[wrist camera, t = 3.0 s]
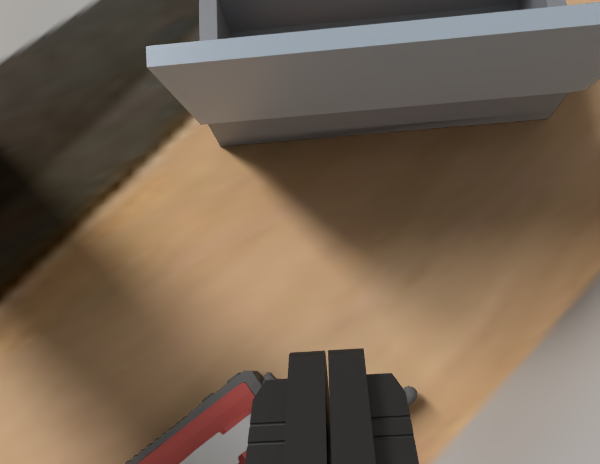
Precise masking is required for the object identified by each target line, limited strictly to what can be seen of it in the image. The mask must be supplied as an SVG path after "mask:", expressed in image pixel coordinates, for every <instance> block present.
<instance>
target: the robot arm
mask: <svg viewBox="0 0 600 464" xmlns="http://www.w3.org/2000/svg"><path fill="white" fill-rule="evenodd" d="M328 361H329V386H328V376H327V365H326V355H325V351H312V352H294V353H290V354H289V368H288V379H278V380H265V381H264V383H263V385H262V386H261V388H260V389H259V391H258V393H257V394H256V396H255V397H254V399H253V401H252V410H251V418H250V428H249V434H248V447H247V451H246V459H245V464H419V462H418V456H417V451H416V445H415V440H414V436H413V429H412V424H411V420H410V413H409V407H408V402H407V396H406V392H405V391H404V389H403V388H402V387H401V385H400V384H399V382H398V381H397V380H396V378H395V377H394V376H393V374H392V373H387V374H368V375H366V367H365V358H364V350H363V348H362V349H344V350H328ZM329 394H330V397H329Z"/></svg>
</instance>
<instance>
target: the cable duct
mask: <svg viewBox="0 0 600 464" xmlns="http://www.w3.org/2000/svg"><path fill="white" fill-rule="evenodd" d="M556 6H566V0H199V26H200V41H206V40H216V39H226V38H236V37H247V36H257V35H267V34H278V33H288V32H298V31H309V30H319V29H329V28H339V27H350V26H360V25H370V24H381V23H391V22H401V21H411V20H422V19H432V18H442V17H453V16H463V15H473V14H484V13H494V12H504V11H514V10H525V9H535V8H545V7H556ZM568 93H569V92H568ZM568 93H556V94H545V95H533V96H522V97H511V98H499V99H488V100H476V101H465V102H454V103H442V104H431V105H419V106H408V107H397V108H385V109H374V110H362V111H351V112H340V113H328V114H317V115H306V116H294V117H283V118H271V119H260V120H249V121H237V122H226V123H214V124H208V125H209V127H210V128H211V130H212V132H213V134H214V136H215V137H216V139H217V141H218V143H219V145H220V147H222V146H234V145H245V144H257V143H269V142H281V141H292V140H304V139H316V138H328V137H339V136H351V135H363V134H375V133H386V132H398V131H410V130H422V129H433V128H445V127H457V126H468V125H480V124H492V123H504V122H515V121H527V120H539V119H548V118H549V117H550V116H551V115H552V113H553V112H554V111H555V109H556V108H557V107H558V106H559V104H560V103H561V102H562V100H563V99H564V98H565V97H566V95H567V94H568Z"/></svg>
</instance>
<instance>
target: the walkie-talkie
mask: <svg viewBox="0 0 600 464" xmlns="http://www.w3.org/2000/svg"><path fill="white" fill-rule="evenodd" d="M263 379H264V380H263ZM265 380H277V379H276V378H275V377H274V376H273V374H272V373H270V372H267V373H266V374H265V375H264V378H262V377H261V376H260V374H259V373H258V371H243V372H242V373H238V374H236V375H235V376H234V377H232V378H231V379H230V380H229V381H228V382H227V384H226V385H225V386H224V387H223V388H221V389H220V390H219V391H217V392H215V393H212V394H210V395H209V396H208V397H207V398H205V399H204V400H203V401H202V402H203V403H202V404H201V405H199V406H198V407H197V408H195V409H194V410H193V411H192V412H190V413H189V416H188V417H184V418H183V419H182V421H181V422H178V423H176V424H175V427H173V428H170V429H168V432H167V433H164V434H162V435H161V437H160V438H158V439H156V440H154V443H152V444H149V445H148V446H147V448H146V449H143V450H141V451H140V454H138V455H135V456H134V457H133V459H132V460H129V461H127V462H126V464H245V459H246V451H247V447H248V434H249V428H250V418H251V410H252V401H253V399H254V397H255V396H256V394H257V393H258V391H259V389H260V388H261V386H262V385H263V383H264V381H265ZM403 389H404V391H405V392H406V396H407V402H408V406H409V405H410V404H412V403H413V402H414V401H415V400H416V399H417V391H416V390H415V388H413V387H410V386H408V387H405V388H403Z"/></svg>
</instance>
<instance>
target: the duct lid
mask: <svg viewBox="0 0 600 464" xmlns="http://www.w3.org/2000/svg"><path fill="white" fill-rule="evenodd" d="M146 56H147V68H148V69H149V70H150V71H151V72H152V73H153V74H154V75H155V76H156V77H157V78H158V79H159V80H160V82H161V83H162V84H163V85H164V86H165V87H166V88H167V89H168V90H169V91H170V92H171V93H172V94H173V95H174V97H175V98H176V99H177V100H178V101H179V102H180V103H181V104H182V105H183V106H184V107H185V108H186V109H187V110H188V111H189V113H190V114H191V115H192V116H193V117H194V118H195V119H196V120H197V121H198V122H199V123H200V124H201V125H203V124H214V123H226V122H237V121H249V120H260V119H271V118H283V117H294V116H306V115H317V114H328V113H340V112H351V111H362V110H374V109H385V108H397V107H408V106H419V105H431V104H442V103H454V102H465V101H476V100H488V99H499V98H511V97H522V96H533V95H545V94H556V93H568V92H579V91H584V90H586V89H587V88H589V87H590V86H591V85H593V84H594V83H595V82H597V81H598V80H599V79H600V2H597V3H586V4H576V5H566V6H556V7H545V8H535V9H525V10H514V11H504V12H494V13H484V14H473V15H463V16H453V17H442V18H432V19H422V20H411V21H401V22H391V23H381V24H370V25H360V26H350V27H339V28H329V29H319V30H309V31H298V32H288V33H278V34H267V35H257V36H247V37H236V38H226V39H216V40H206V41H195V42H185V43H175V44H164V45H154V46H146Z"/></svg>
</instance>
